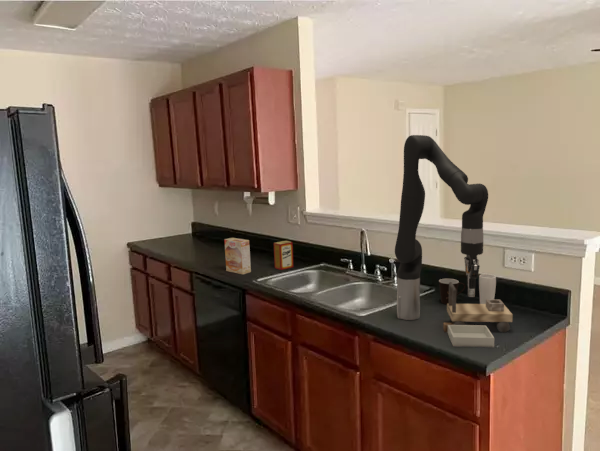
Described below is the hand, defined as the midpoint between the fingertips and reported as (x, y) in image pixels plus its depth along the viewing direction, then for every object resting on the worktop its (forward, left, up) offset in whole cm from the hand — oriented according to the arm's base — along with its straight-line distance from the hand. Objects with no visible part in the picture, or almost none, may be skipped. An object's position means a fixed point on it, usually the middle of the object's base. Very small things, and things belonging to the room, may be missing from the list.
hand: (471, 287), depth 173 cm
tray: (0, 0, -20) cm, 20 cm away
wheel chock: (-6, +9, -20) cm, 23 cm away
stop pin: (0, 0, -3) cm, 3 cm away
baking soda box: (-87, +107, -20) cm, 139 cm away
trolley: (+6, +14, -20) cm, 25 cm away
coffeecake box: (-113, +98, -20) cm, 151 cm away
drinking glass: (+14, +34, -20) cm, 42 cm away
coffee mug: (+1, +43, -20) cm, 48 cm away
